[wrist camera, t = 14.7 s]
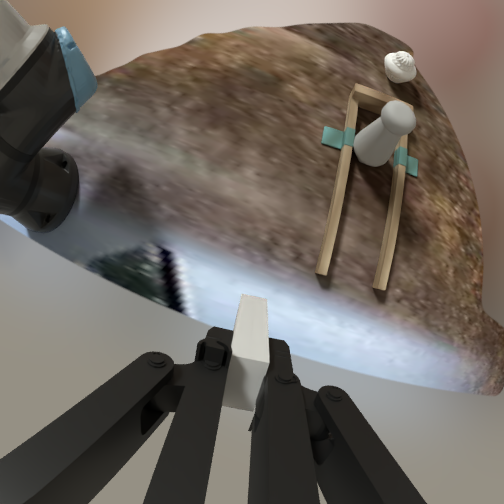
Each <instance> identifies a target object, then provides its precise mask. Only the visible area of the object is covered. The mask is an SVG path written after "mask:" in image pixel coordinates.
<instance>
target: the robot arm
mask: <svg viewBox="0 0 504 504" xmlns="http://www.w3.org/2000/svg"><path fill="white" fill-rule="evenodd" d="M96 89H97V80H96V78H95V76H94V74H93V72H92V70H91V69H90V66H89V65H88V63H87V61H86V60H85V58H84V56H83V54H82V53H81V51H80V50H79V48H78V46H77V45H76V43H75V41H74V40H73V38H72V36H71V35H70V33H69V31H68V30H67V28H66V27H61V28H58V29H56V30H55V32H53V31H52V30H51V29H50V27H49V26H48V25H46V24H43V25H35V26H30V25H29V24H28V23H27V22H26V21H25V20H24V18H23V17H22V16H21V15H20V14H19V13H18V12H17V11H16V10H15V9H14V8H13V6H12V5H11V4H10V3H9V2H8V1H7V0H0V214H5V215H9V216H12V217H13V218H14V219H15V220H17V221H18V222H19V223H21V224H22V225H23V226H24V227H26V228H27V229H29V230H31V231H35V232H41V233H44V232H49V231H51V230H53V229H55V228H56V227H57V226H59V225H60V224H61V223H62V221H63V220H64V219H65V218H66V216H67V215H68V213H69V211H70V209H71V207H72V205H73V202H74V200H75V196H76V192H77V187H78V170H77V166H76V163H75V161H74V159H73V158H72V157H71V156H70V155H69V154H68V153H66V152H64V151H63V150H61V149H58V148H45V147H43V146H44V145H45V144H46V143H47V142H48V141H49V139H50V138H51V137H52V136H53V135H54V134H55V133H56V132H57V131H58V130H59V129H60V128H61V126H62V125H63V124H64V123H65V122H66V121H67V120H68V119H69V118H70V117H71V116H72V115H73V114H74V113H75V112H76V113H77V112H78V111H79V109H80V107H81V106H82V105H83V104H84V103H85V102H86V101H87V100H88V99H89V98H90V97H91V96H92V95H93V94H94V93H95V91H96ZM255 405H256V408H255V414H254V417H253V420H252V423H251V425H250V428H249V430H248V431H251V430H252V437H251V455H250V456H251V457H250V472H249V490H248V504H320V500H319V494H318V486H317V483H318V485H319V487H320V489H321V491H322V493H323V496H324V497H325V500H326V502H327V504H427V503H426V502H425V501H424V499H423V498H422V497H421V495H420V494H419V492H418V491H417V489H416V488H415V487H414V485H413V484H412V483H411V481H410V480H409V478H408V477H407V476H406V474H405V473H404V472H403V470H402V469H401V467H400V466H399V465H398V463H397V462H396V461H395V459H394V458H393V456H392V455H391V454H390V452H389V451H388V449H387V448H386V447H385V445H384V444H383V443H382V441H381V440H380V439H379V437H378V436H377V434H376V433H375V432H374V430H373V429H372V427H371V426H370V425H369V424H368V422H367V420H366V419H365V418H364V416H363V415H362V413H361V412H360V411H359V409H358V408H357V406H356V405H355V404H354V402H353V401H352V399H351V398H350V397H349V396H348V394H347V393H346V392H345V391H344V390H342V389H340V388H338V387H335V386H323V387H321V388H320V389H319V391H318V392H316V391H313V390H310V389H308V388H305V387H303V386H301V383H300V380H299V378H298V377H297V376H296V375H295V374H294V373H293V368H292V362H291V355H290V349H289V346H288V345H287V343H286V342H285V341H284V340H279V339H273V338H269V336H268V313H267V299H264V298H259V297H254V296H250V295H246V294H242V295H241V299H240V303H239V308H238V312H237V316H236V321H235V325H234V329H233V331H232V330H227V329H223V328H219V327H215V326H214V327H213V328H211V329H210V330H208V333H207V335H206V338H205V339H203V340H201V341H199V342H198V344H197V350H196V356H195V361H194V362H193V363H190V364H174V361H173V360H172V359H171V358H170V357H169V356H168V355H166V354H163V353H160V352H147V353H145V354H143V355H141V356H140V357H138V358H137V359H136V360H135V361H133V362H132V363H131V364H129V365H128V366H127V367H125V368H124V369H123V370H121V371H120V372H119V373H117V374H116V375H115V376H113V377H112V378H111V379H109V380H108V381H107V382H106V383H104V384H103V385H101V386H100V387H99V388H98V389H96V390H95V391H93V392H92V393H91V394H89V395H88V396H87V397H85V398H84V399H83V400H81V401H80V402H79V403H77V404H76V405H75V406H73V407H72V408H71V409H69V410H68V411H66V412H65V413H64V414H62V415H61V416H60V417H58V418H57V419H56V420H54V421H53V422H52V423H50V424H49V425H47V426H46V427H45V428H43V429H42V430H41V431H39V432H38V433H36V434H35V435H34V436H33V437H31V438H30V439H28V440H27V441H25V442H24V443H22V444H21V445H20V446H18V447H17V448H16V449H14V450H13V451H12V452H10V453H8V454H7V455H6V456H4V457H3V458H1V459H0V504H88V503H89V502H90V501H91V500H92V499H93V498H94V497H95V496H96V495H97V494H98V493H99V492H100V491H101V490H102V489H103V487H104V486H105V485H106V484H107V483H108V482H109V481H110V480H111V479H112V478H113V477H114V476H115V475H116V474H117V472H118V471H119V470H120V469H121V468H122V467H123V466H124V465H125V464H126V463H127V461H128V460H129V459H130V458H131V457H132V456H133V455H134V454H135V453H136V451H137V450H138V449H139V448H140V447H141V446H142V445H143V444H144V442H145V441H146V440H147V439H148V438H149V437H150V435H151V434H152V433H153V432H154V431H155V430H156V429H157V427H158V426H159V425H160V424H161V423H162V422H163V420H164V419H165V418H166V417H167V416H168V414H169V412H175V415H174V418H173V421H172V423H171V426H170V429H169V431H168V434H167V437H166V440H165V443H164V445H163V448H162V451H161V454H160V456H159V459H158V462H157V465H156V468H155V470H154V473H153V476H152V479H151V482H150V485H149V488H148V490H147V493H146V496H145V499H144V502H143V504H204V502H205V496H206V491H207V485H208V480H209V474H210V468H211V463H212V457H213V452H214V446H215V441H216V435H217V429H218V424H219V418H220V412H221V407H222V406H226V407H231V408H237V409H242V410H247V411H253V410H254V407H255Z"/></svg>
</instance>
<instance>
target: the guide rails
mask: <svg viewBox="0 0 504 504" xmlns="http://www.w3.org/2000/svg"><path fill="white" fill-rule="evenodd" d="M394 100H396V101H400V102H403V101H401V100H399V99H396V98H394V97H391V96H389V95H386V94H384V93H381V92H379V91H376V90H373V89H371V88H368V87H365V86H362V85H359V84H357V83H356V84H355V86H354V88H353V90H352V92H351V94H350V96H349V102H348V109H347V116H346V122H345V129H344V132H342V131H339V130H336V129H333V128H329V127H326V126H325V127H324V132H323V137H322V142H321V144H325V145H328V146H331V147H335V148H338V149H341V153H340V159H339V164H338V170H337V175H336V180H335V185H334V191H333V195H332V200H331V205H330V210H329V215H328V219H327V224H326V228H325V233H324V237H323V241H322V245H321V250H320V254H319V258H318V262H317V266H316V270H315V273H318V274H322V275H327V271H328V267H329V263H330V259H331V255H332V250H333V246H334V242H335V237H336V233H337V228H338V224H339V219H340V214H341V209H342V204H343V199H344V194H345V188H346V183H347V177H348V172H349V166H350V160H351V153H352V147H353V144H354V137H355V126H356V118H357V110H358V107H360V108H362V109H365V110H368V111H371V112H374V113H376V114H379V115H381V111H382V109H383V107H384V106H385V105H386V104H387V103H388V102H389V101H394ZM403 103H404V104H406V105H407V106H409V107H410V109H411V110H412V111H413V106H412V105H410V104H408V103H405V102H403ZM407 137H408V134H407V135H404V136H401V138H400V140H399V142H398V144H397V146H396V147H395V154H394V165H393V177H392V185H391V193H390V200H389V207H388V213H387V219H386V225H385V231H384V236H383V242H382V247H381V252H380V256H379V261H378V266H377V270H376V274H375V279H374V283H373V287H372V288H376V289H380V290H385V289H386V285H387V281H388V276H389V272H390V267H391V263H392V258H393V253H394V248H395V242H396V237H397V231H398V225H399V219H400V212H401V205H402V197H403V188H404V179H405V172H406V173H408V174H410V175H413V176H415V177H417V170H418V160H417V159H415V158H413V157H410V156H408V155H407Z"/></svg>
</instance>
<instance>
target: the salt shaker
mask: <svg viewBox="0 0 504 504" xmlns="http://www.w3.org/2000/svg"><path fill="white" fill-rule="evenodd" d="M415 126H416V118H415V115H414V113H413V111H412V110H411V109H410V107H409V106H407V105H406V104H404V103H403V102H400V101H396V100H394V101H389V102H388V103H387V104H386V105H385V106H384V107H383V109H382V111H381V117H379V118H378V119H376V120H375V121H374V122H372V123H371V124H370V125H368V126H367V127H366V128H364V129H363V130H361V131H360V132H359V133H358V134H357V135H356V136H355V139H354V144H353V148H354V152H355V154H356V156H357V158H358V160H359V162H361V163H364V164H366V165H369V166H373V167H377V166H380V165H383V164H385V163H386V162H387V161H388V159H389V158H390V156H391V155H392V153H393V151H394V149H395V147H396V146H397V144H398V142H399V140H400V138H401V136H404V135H407V134H409V133H410V132H411V131H412V130H413V129H414V127H415Z"/></svg>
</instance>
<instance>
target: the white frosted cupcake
mask: <svg viewBox="0 0 504 504" xmlns="http://www.w3.org/2000/svg"><path fill="white" fill-rule="evenodd" d="M384 64H385V71H386V76H387V77H388V78H389V79H390V80H391V81H392V82H394V83H402V82H407V81H409V80H412V79H413V78H414V77H415V76H416V68H415V66H414V64H415V61H414V59H413V57H412V56H411V55H409V53H407V52H404V51H402V52H401V51H399V52H397V53H390V54H388V55H387V56H386V57H385V63H384Z"/></svg>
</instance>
